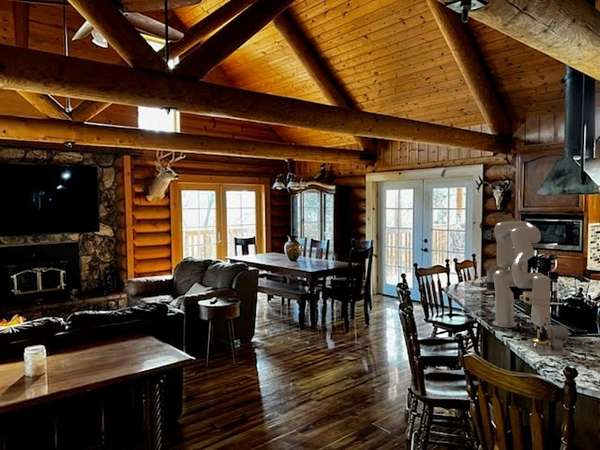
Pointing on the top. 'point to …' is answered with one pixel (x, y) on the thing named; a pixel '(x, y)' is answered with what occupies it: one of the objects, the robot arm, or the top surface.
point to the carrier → (546, 347)
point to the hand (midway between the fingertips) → (541, 338)
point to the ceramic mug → (558, 333)
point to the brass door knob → (537, 341)
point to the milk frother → (489, 280)
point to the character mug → (527, 301)
